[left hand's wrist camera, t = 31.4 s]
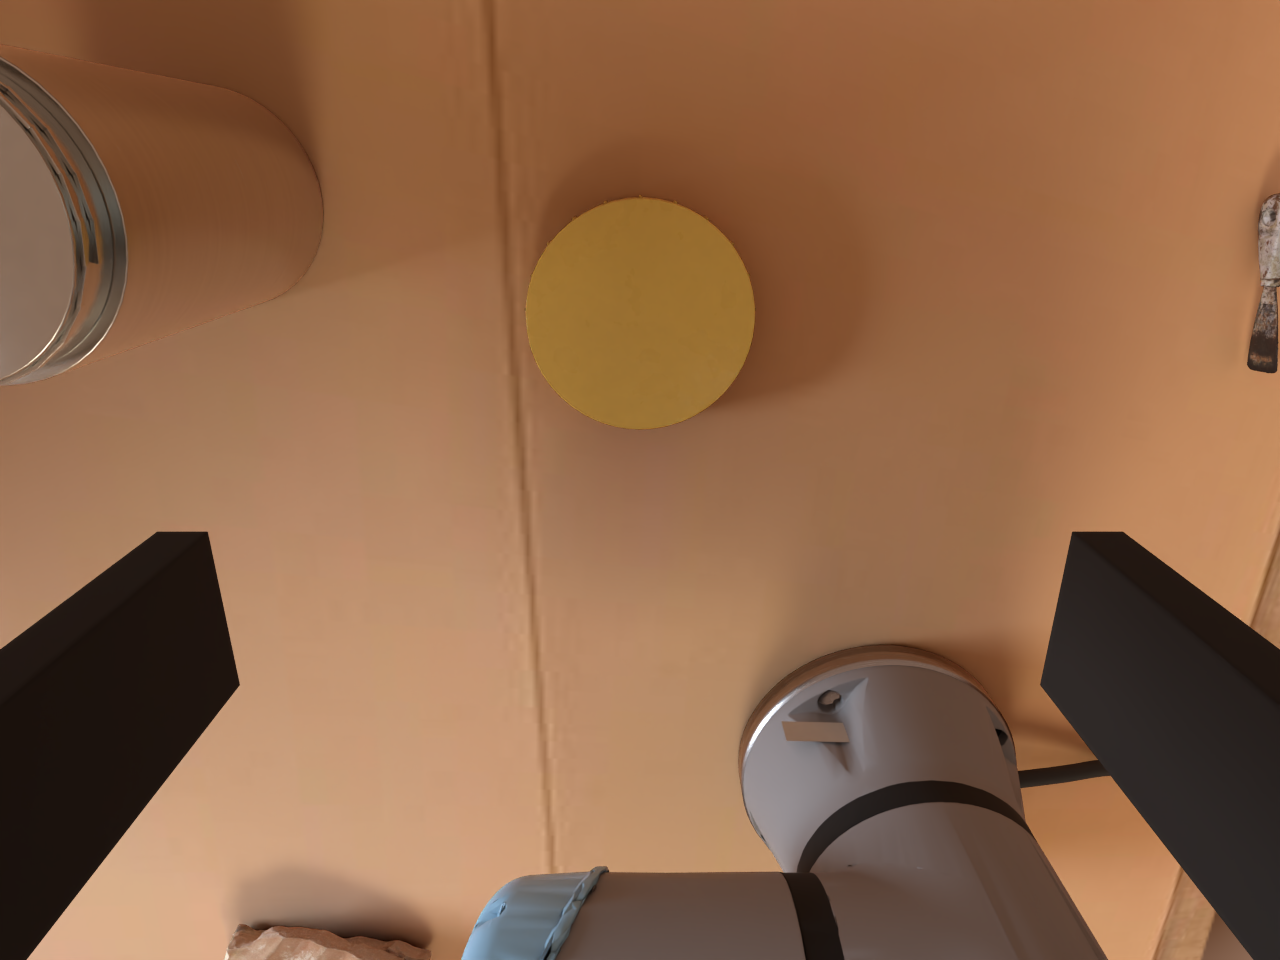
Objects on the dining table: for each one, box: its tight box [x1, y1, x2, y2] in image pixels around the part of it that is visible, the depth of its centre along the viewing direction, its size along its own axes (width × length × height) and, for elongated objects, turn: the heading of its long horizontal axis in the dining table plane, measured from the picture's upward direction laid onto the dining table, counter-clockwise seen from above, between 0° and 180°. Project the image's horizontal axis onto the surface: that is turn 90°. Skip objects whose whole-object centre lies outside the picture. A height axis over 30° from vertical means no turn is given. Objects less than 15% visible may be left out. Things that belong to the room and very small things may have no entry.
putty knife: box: [1247, 193, 1280, 373], centre depth 37 cm, size 1×8×2 cm, turn 10°
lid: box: [525, 195, 756, 429], centre depth 37 cm, size 10×10×2 cm
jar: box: [0, 44, 323, 386], centre depth 29 cm, size 9×9×17 cm
